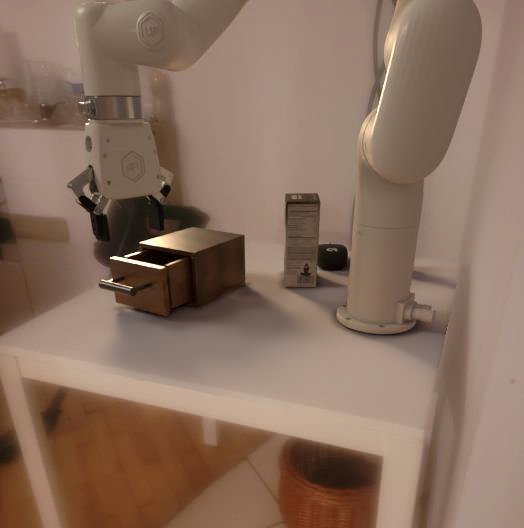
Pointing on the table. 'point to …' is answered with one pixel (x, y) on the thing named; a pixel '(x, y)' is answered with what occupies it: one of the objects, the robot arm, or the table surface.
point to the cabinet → (206, 260)
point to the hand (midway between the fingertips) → (131, 234)
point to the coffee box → (301, 239)
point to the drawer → (151, 280)
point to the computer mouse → (332, 256)
